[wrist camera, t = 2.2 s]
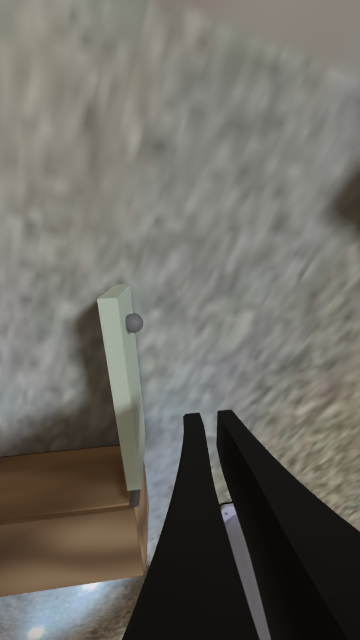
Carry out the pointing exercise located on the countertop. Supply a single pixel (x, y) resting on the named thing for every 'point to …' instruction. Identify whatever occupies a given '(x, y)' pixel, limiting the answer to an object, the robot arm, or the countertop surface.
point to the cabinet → (69, 520)
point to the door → (124, 377)
